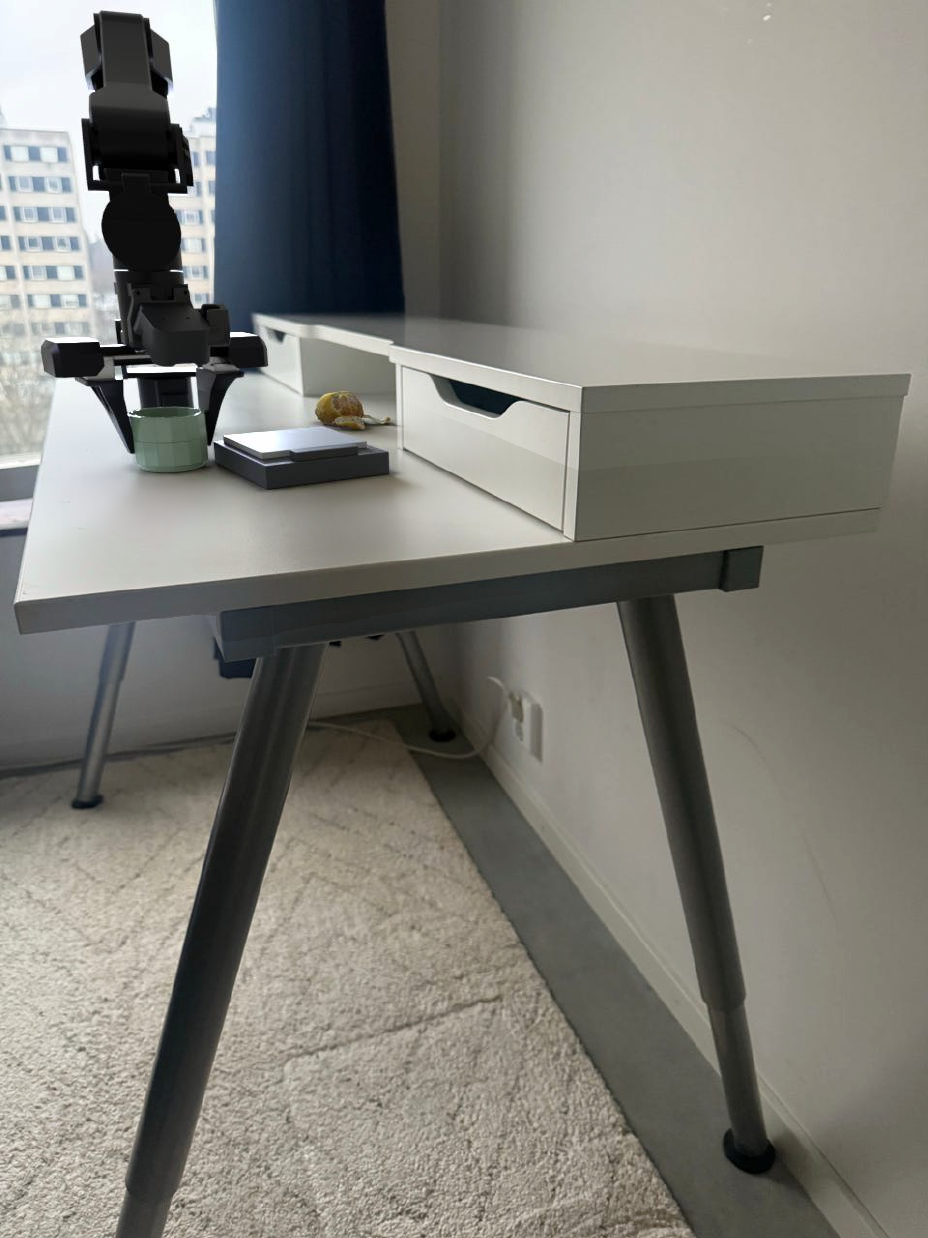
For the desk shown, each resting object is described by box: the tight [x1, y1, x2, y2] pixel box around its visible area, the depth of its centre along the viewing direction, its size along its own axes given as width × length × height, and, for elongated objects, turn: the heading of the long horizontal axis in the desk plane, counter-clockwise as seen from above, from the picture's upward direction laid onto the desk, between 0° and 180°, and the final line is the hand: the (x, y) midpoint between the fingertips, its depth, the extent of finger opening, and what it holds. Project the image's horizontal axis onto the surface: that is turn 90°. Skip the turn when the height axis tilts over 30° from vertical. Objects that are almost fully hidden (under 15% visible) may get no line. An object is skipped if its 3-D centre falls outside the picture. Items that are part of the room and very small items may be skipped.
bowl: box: [127, 407, 210, 473], centre depth 80 cm, size 7×7×5 cm
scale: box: [212, 425, 390, 490], centre depth 81 cm, size 13×12×3 cm
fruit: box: [314, 390, 392, 430], centre depth 104 cm, size 8×8×4 cm
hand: (170, 449), depth 81 cm, fingers closed on bowl, 7 cm apart
